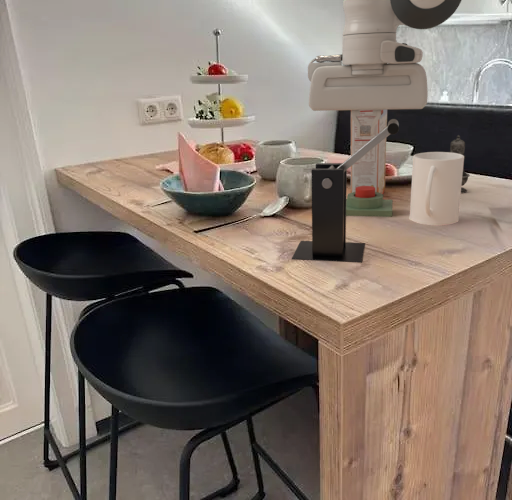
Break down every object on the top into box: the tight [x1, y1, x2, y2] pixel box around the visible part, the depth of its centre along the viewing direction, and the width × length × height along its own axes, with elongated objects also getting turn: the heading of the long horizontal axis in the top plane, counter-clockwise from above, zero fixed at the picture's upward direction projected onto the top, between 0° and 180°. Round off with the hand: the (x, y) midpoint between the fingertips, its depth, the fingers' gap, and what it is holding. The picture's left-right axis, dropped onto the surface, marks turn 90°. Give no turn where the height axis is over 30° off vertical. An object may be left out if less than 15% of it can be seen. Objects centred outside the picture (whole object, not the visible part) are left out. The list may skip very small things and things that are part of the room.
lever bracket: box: [291, 162, 366, 264], centre depth 73 cm, size 10×8×14 cm
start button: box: [355, 186, 375, 198], centre depth 93 cm, size 4×4×2 cm
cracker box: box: [350, 109, 388, 195], centre depth 103 cm, size 14×6×21 cm, turn 161°
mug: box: [408, 151, 465, 226], centre depth 85 cm, size 12×8×12 cm
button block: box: [346, 192, 393, 218], centre depth 94 cm, size 10×8×4 cm
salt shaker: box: [449, 134, 471, 194], centre depth 107 cm, size 6×6×12 cm
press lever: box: [328, 118, 400, 172], centre depth 69 cm, size 13×5×2 cm
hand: (365, 135), depth 90 cm, fingers closed
